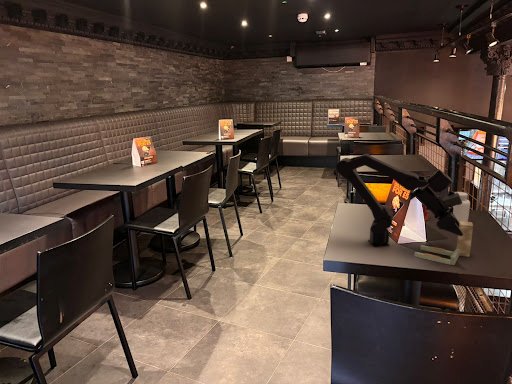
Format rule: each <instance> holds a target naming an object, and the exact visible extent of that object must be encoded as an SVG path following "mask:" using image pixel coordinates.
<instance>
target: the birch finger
mask: <svg viewBox="0 0 512 384" xmlns="http://www.w3.org/2000/svg"><path fill="white" fill-rule="evenodd" d="M459 229H460V230H461V232H462V233H463V235H462V236H459V235H457V238H456V239H457V240H456V248H455V249H460V252H459V257H460V256H461V257H471V256H470V255H471V251H472V244H473V240H472V238H473V230H474V224H473V222H471V221H468V222H463V221H459Z"/></svg>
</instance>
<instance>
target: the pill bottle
mask: <svg viewBox="0 0 512 384" xmlns="http://www.w3.org/2000/svg"><path fill="white" fill-rule="evenodd" d="M454 193H459V196H460V198H461V200H462V204H460V205H455V206H453V214H454V215H455V217H456V218H457V220H458V222H459V221H463V222H469V214H470V208H471V201H470V200H469V199H468V197H469V194H468V193H467V192H462V191H454ZM449 208H450V207H449Z"/></svg>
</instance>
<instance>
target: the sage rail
mask: <svg viewBox="0 0 512 384" xmlns="http://www.w3.org/2000/svg"><path fill="white" fill-rule="evenodd" d="M419 250H421V251H425V252H430V253H431V254H430V253H422V252H418V251H414V255H413V257H414V258H415V257H416V258H420V259H425V260H429V261H431V262H432V261H433V262H437V263H441V264H444V265H445V264H446V265H450V266H455V265H456V262H457V261H458V259H459V258H460V256H459V252H460V249H456V248H455V250H454V251H453V250H447V249H445V248H441V247H437V246H436V247H435V246H427V245H424V244H423V245H422V244H421V245H420V249H419ZM432 253H435V254H439V255H434V254H432ZM440 255H445V256H448V257H450V259H449V258H445V257H441V256H440Z"/></svg>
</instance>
